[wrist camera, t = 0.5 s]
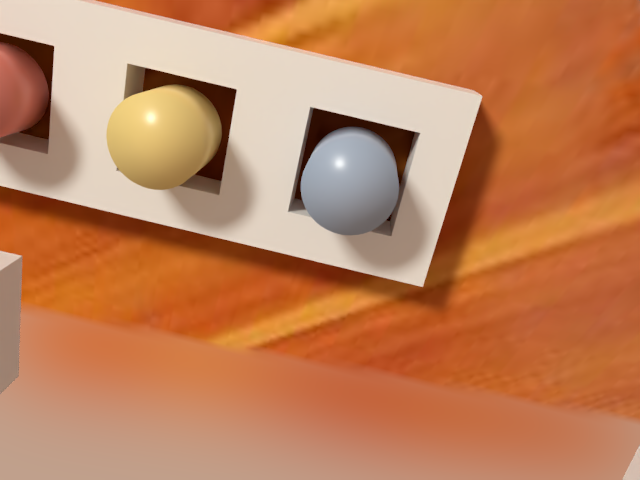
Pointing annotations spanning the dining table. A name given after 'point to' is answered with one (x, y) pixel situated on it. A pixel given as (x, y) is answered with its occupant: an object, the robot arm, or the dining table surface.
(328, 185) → the blue button
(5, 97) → the red button
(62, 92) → the panel
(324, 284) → the dining table surface
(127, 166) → the mustard button
